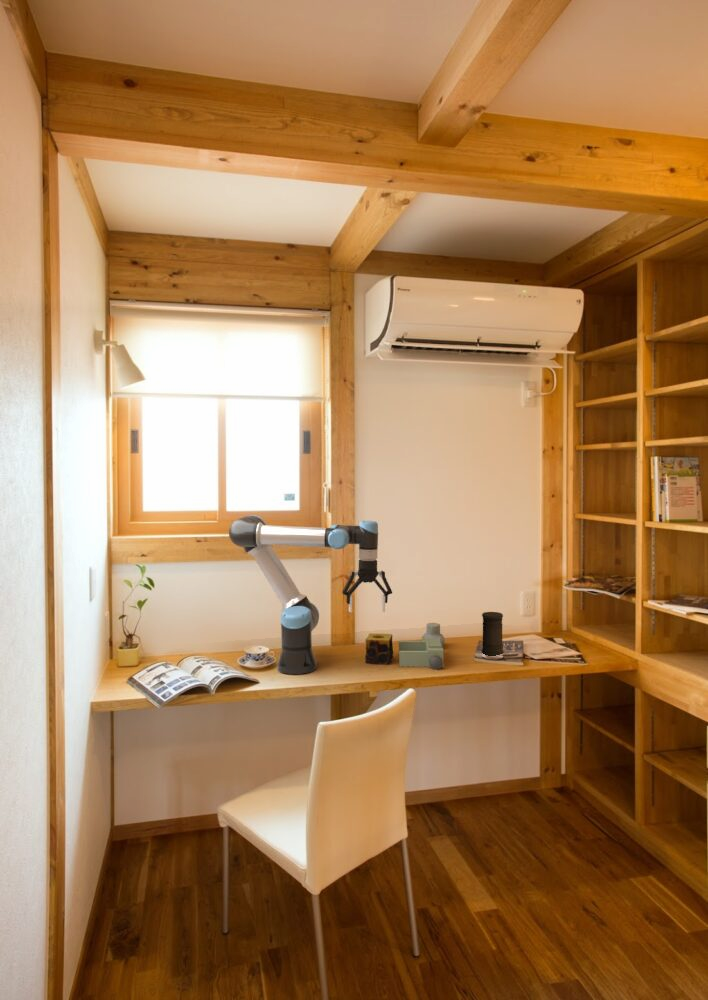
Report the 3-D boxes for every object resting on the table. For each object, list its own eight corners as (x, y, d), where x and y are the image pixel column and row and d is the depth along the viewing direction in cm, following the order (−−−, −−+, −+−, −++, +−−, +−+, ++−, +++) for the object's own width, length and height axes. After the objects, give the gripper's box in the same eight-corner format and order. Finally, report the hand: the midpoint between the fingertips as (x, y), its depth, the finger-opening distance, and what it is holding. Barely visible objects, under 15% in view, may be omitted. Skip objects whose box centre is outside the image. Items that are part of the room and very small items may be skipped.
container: (507, 656, 266) (507, 613, 265) (497, 661, 259) (497, 617, 258) (487, 652, 272) (488, 610, 271) (477, 657, 265) (477, 614, 264)
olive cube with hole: (390, 665, 256) (389, 640, 256) (364, 664, 259) (364, 639, 258) (393, 657, 266) (393, 633, 266) (369, 656, 268) (369, 632, 268)
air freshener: (445, 650, 276) (445, 627, 276) (427, 651, 275) (426, 627, 275) (439, 643, 287) (439, 620, 286) (421, 644, 286) (420, 621, 285)
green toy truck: (399, 669, 251) (399, 649, 250) (398, 652, 273) (398, 634, 273) (443, 669, 250) (443, 649, 249) (439, 652, 272) (439, 634, 272)
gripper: (339, 561, 255) (337, 614, 256) (400, 560, 260) (399, 612, 261) (335, 558, 262) (334, 609, 264) (395, 557, 267) (394, 608, 268)
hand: (366, 611), depth 262 cm, fingers open, 13 cm apart
